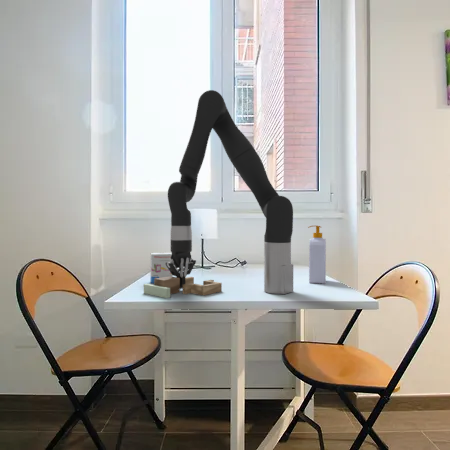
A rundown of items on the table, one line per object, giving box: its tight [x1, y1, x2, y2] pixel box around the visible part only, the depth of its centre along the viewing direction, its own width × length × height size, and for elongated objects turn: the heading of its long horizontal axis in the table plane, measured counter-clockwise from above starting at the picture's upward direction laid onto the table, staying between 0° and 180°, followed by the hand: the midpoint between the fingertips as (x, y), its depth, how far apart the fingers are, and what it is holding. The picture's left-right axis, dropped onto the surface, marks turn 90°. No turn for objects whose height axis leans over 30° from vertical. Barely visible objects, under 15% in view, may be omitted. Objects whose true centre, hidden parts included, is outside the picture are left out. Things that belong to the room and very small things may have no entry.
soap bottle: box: [307, 225, 327, 285], centre depth 143 cm, size 9×7×23 cm
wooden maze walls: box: [182, 276, 223, 296], centre depth 125 cm, size 18×14×3 cm
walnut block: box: [153, 276, 181, 295], centre depth 120 cm, size 5×7×5 cm
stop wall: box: [143, 283, 171, 299], centre depth 116 cm, size 12×2×3 cm, turn 49°
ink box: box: [150, 252, 174, 284], centre depth 142 cm, size 9×5×12 cm, turn 105°
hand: (181, 287), depth 125 cm, fingers closed
